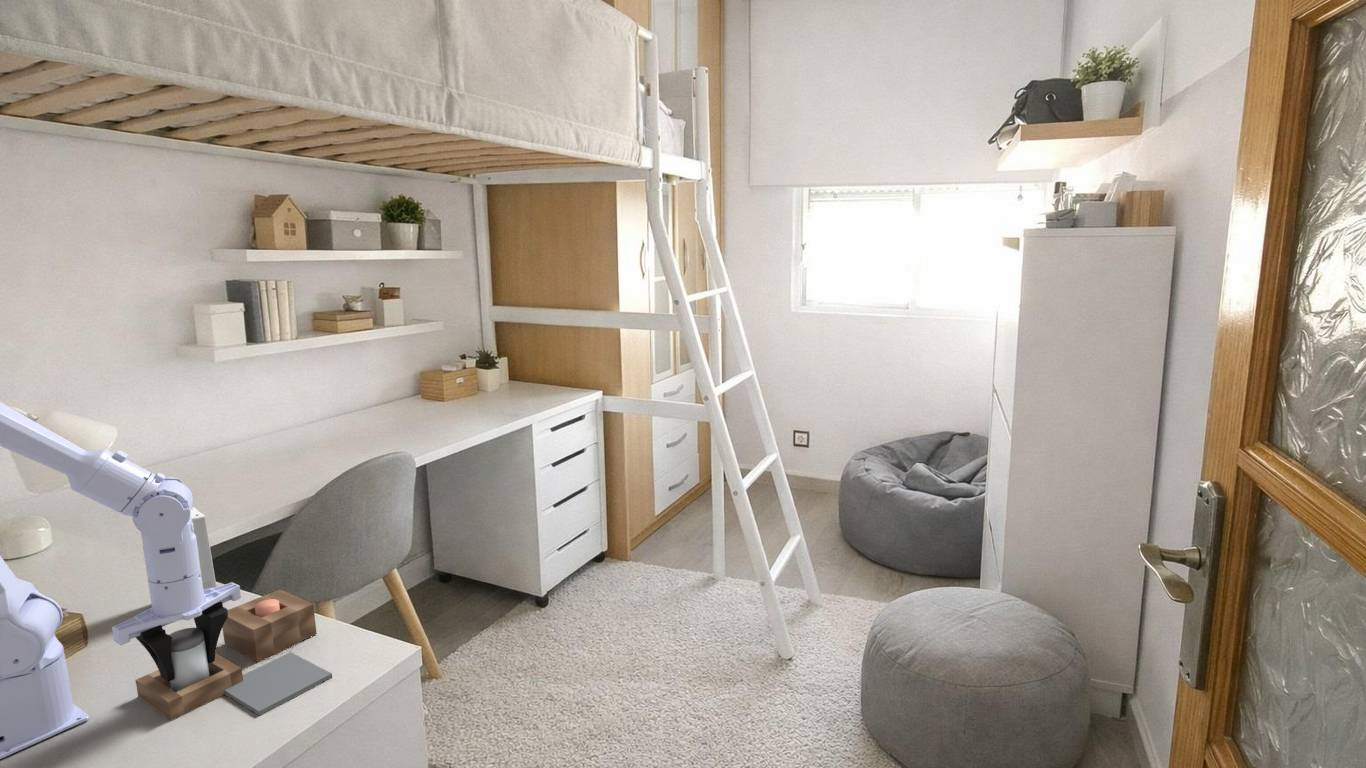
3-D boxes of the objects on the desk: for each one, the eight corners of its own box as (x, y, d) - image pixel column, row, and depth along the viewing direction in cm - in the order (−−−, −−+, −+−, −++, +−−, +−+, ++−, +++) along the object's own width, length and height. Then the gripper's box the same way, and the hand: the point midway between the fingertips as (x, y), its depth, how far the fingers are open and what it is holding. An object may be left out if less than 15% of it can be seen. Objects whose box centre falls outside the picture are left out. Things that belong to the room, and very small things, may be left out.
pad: (259, 715, 97) (258, 711, 97) (218, 690, 102) (218, 686, 102) (332, 677, 105) (331, 673, 105) (291, 655, 111) (290, 652, 110)
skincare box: (208, 587, 132) (196, 505, 129) (219, 598, 128) (208, 514, 125) (150, 604, 126) (137, 519, 123) (160, 616, 122) (147, 528, 119)
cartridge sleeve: (171, 720, 96) (168, 702, 96) (138, 696, 101) (135, 679, 101) (243, 684, 104) (241, 668, 103) (210, 664, 108) (207, 648, 108)
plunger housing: (257, 662, 109) (253, 629, 108) (224, 644, 114) (220, 613, 113) (316, 634, 116) (313, 604, 115) (283, 618, 121) (280, 589, 120)
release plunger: (265, 642, 113) (262, 611, 112) (254, 636, 115) (250, 605, 114) (286, 633, 115) (283, 602, 114) (275, 627, 117) (271, 597, 116)
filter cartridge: (181, 704, 99) (173, 648, 98) (165, 693, 102) (157, 638, 100) (217, 688, 103) (209, 633, 101) (200, 677, 105) (193, 624, 104)
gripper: (124, 604, 91) (140, 707, 94) (247, 560, 103) (259, 652, 105) (98, 589, 95) (115, 688, 97) (220, 549, 107) (232, 638, 109)
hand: (188, 669), depth 102 cm, fingers closed on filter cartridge, 4 cm apart
